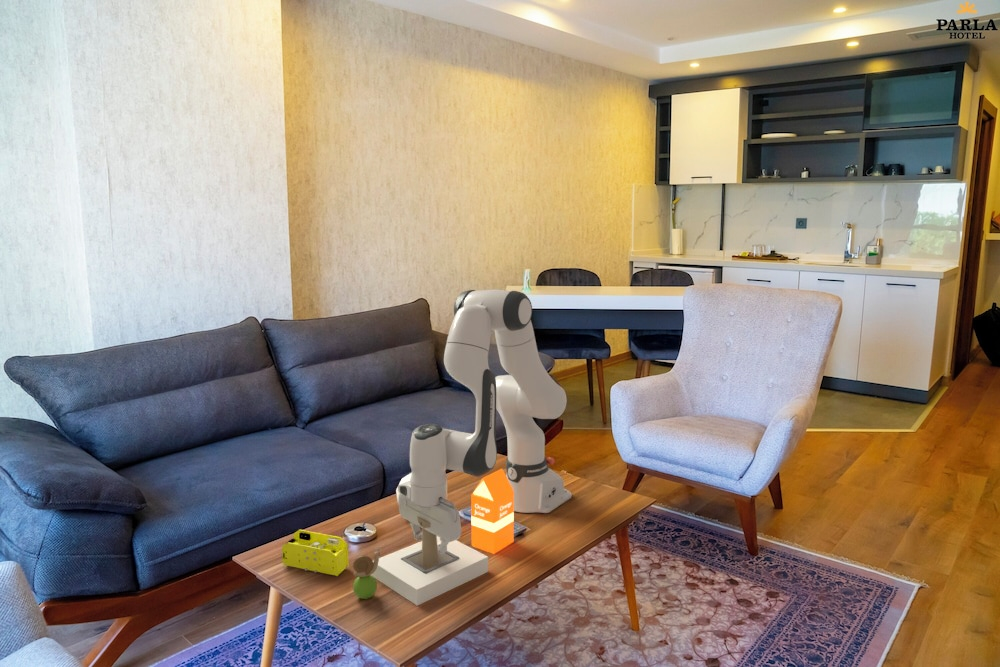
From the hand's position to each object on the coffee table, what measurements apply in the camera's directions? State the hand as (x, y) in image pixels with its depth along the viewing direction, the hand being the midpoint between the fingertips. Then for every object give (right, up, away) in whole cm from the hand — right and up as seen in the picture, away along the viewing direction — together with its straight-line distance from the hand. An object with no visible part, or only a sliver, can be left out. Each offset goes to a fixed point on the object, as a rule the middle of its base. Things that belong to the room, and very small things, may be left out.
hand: (430, 545), depth 177 cm
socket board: (0, -8, +1) cm, 8 cm away
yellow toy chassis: (-29, -7, +5) cm, 30 cm away
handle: (0, -8, +1) cm, 8 cm away
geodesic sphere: (-6, -1, +35) cm, 36 cm away
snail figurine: (-14, -10, -9) cm, 19 cm away
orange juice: (+15, -5, +17) cm, 23 cm away
